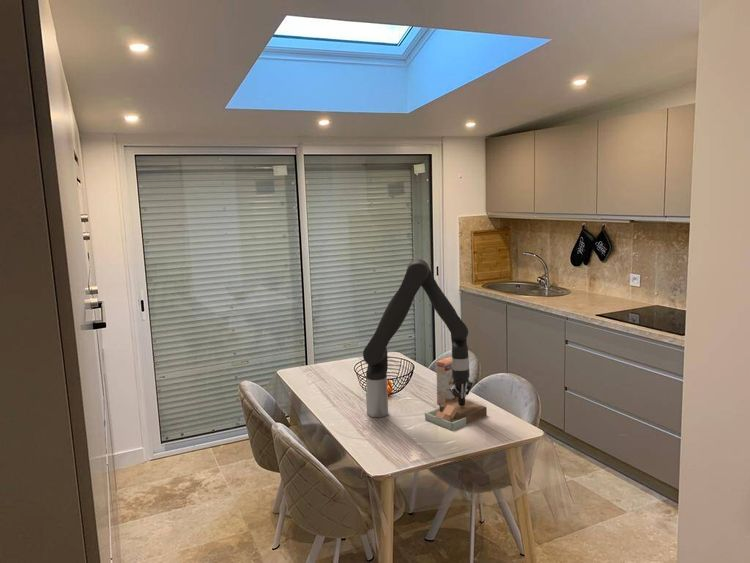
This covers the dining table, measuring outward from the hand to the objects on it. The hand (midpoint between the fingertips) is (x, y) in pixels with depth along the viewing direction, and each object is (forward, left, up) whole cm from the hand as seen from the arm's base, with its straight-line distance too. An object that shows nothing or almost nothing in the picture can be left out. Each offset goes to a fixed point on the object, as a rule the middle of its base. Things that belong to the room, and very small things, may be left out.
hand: (461, 405), depth 239 cm
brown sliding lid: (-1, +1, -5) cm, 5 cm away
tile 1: (0, -11, -1) cm, 11 cm away
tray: (-1, -10, -5) cm, 11 cm away
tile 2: (0, -7, -2) cm, 7 cm away
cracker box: (-16, +10, -5) cm, 19 cm away
